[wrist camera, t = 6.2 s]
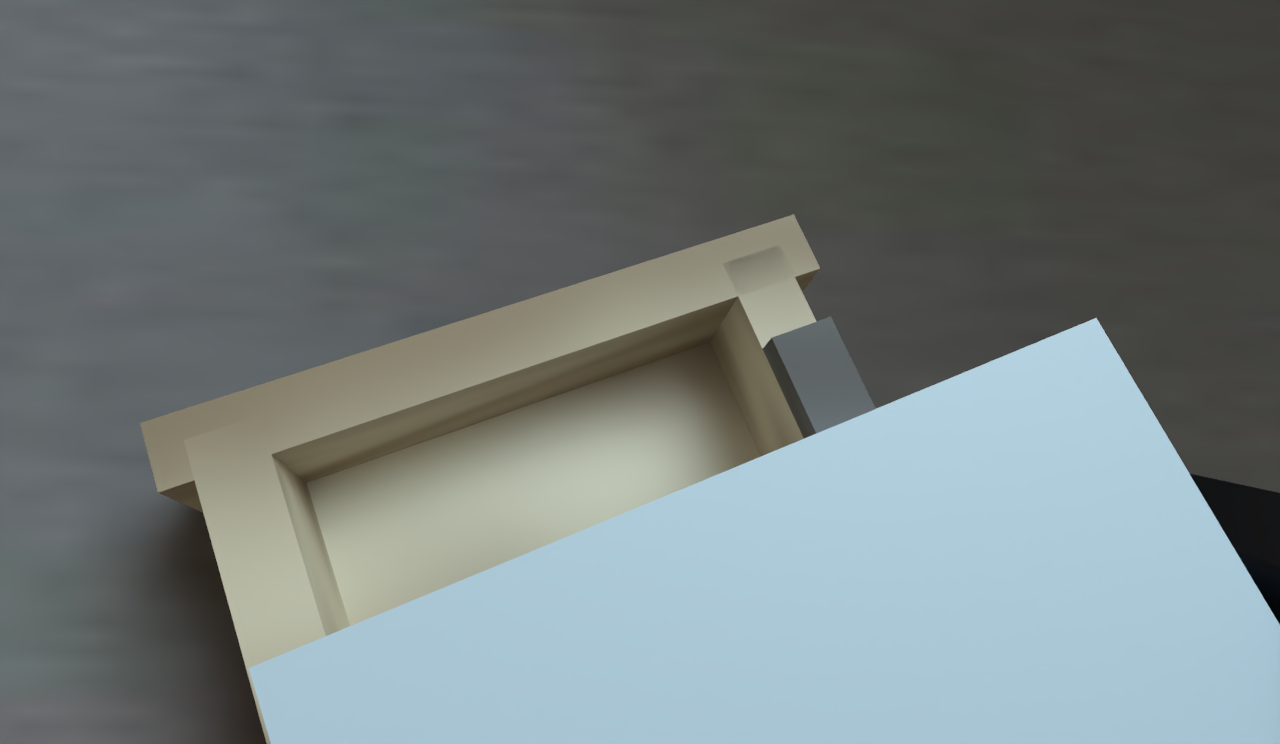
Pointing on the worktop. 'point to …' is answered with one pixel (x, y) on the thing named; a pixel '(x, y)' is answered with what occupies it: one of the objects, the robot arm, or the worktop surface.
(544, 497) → the wooden tray
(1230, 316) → the worktop surface
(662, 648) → the pale blue box
